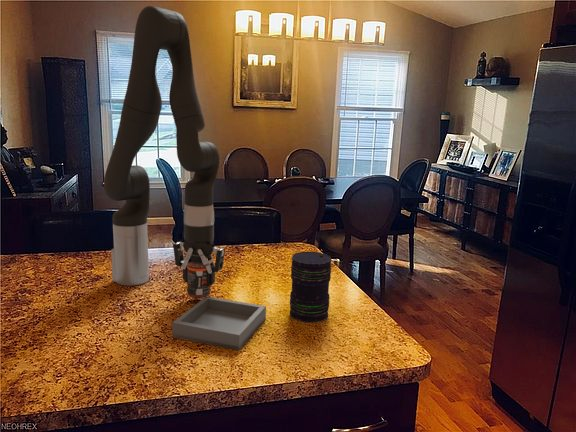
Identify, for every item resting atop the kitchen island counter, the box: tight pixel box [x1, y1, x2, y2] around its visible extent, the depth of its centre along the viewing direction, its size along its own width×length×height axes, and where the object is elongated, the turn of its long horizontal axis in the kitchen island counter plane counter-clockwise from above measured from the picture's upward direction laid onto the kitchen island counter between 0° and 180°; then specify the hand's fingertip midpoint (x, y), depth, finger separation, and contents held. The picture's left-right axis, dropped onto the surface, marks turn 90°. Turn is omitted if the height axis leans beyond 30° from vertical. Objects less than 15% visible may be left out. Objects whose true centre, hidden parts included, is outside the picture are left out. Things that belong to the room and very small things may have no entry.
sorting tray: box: [171, 296, 267, 351], centre depth 108 cm, size 16×16×4 cm
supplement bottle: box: [186, 254, 211, 299], centre depth 122 cm, size 6×6×11 cm
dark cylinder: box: [289, 251, 332, 324], centre depth 116 cm, size 10×10×15 cm
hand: (198, 283), depth 122 cm, fingers closed on supplement bottle, 6 cm apart
